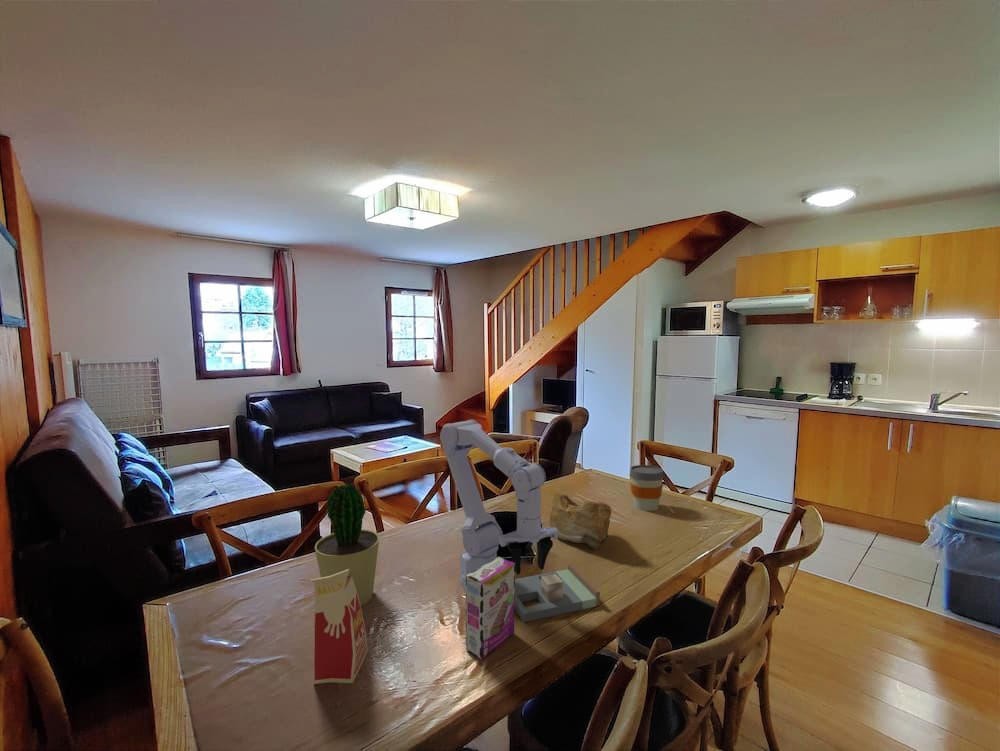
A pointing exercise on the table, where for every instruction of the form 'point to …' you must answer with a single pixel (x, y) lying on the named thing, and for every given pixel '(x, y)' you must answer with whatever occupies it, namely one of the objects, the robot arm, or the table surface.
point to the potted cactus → (349, 542)
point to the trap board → (574, 598)
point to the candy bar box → (489, 606)
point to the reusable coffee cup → (646, 486)
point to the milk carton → (338, 630)
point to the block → (551, 587)
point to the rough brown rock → (580, 520)
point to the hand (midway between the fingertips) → (529, 569)
